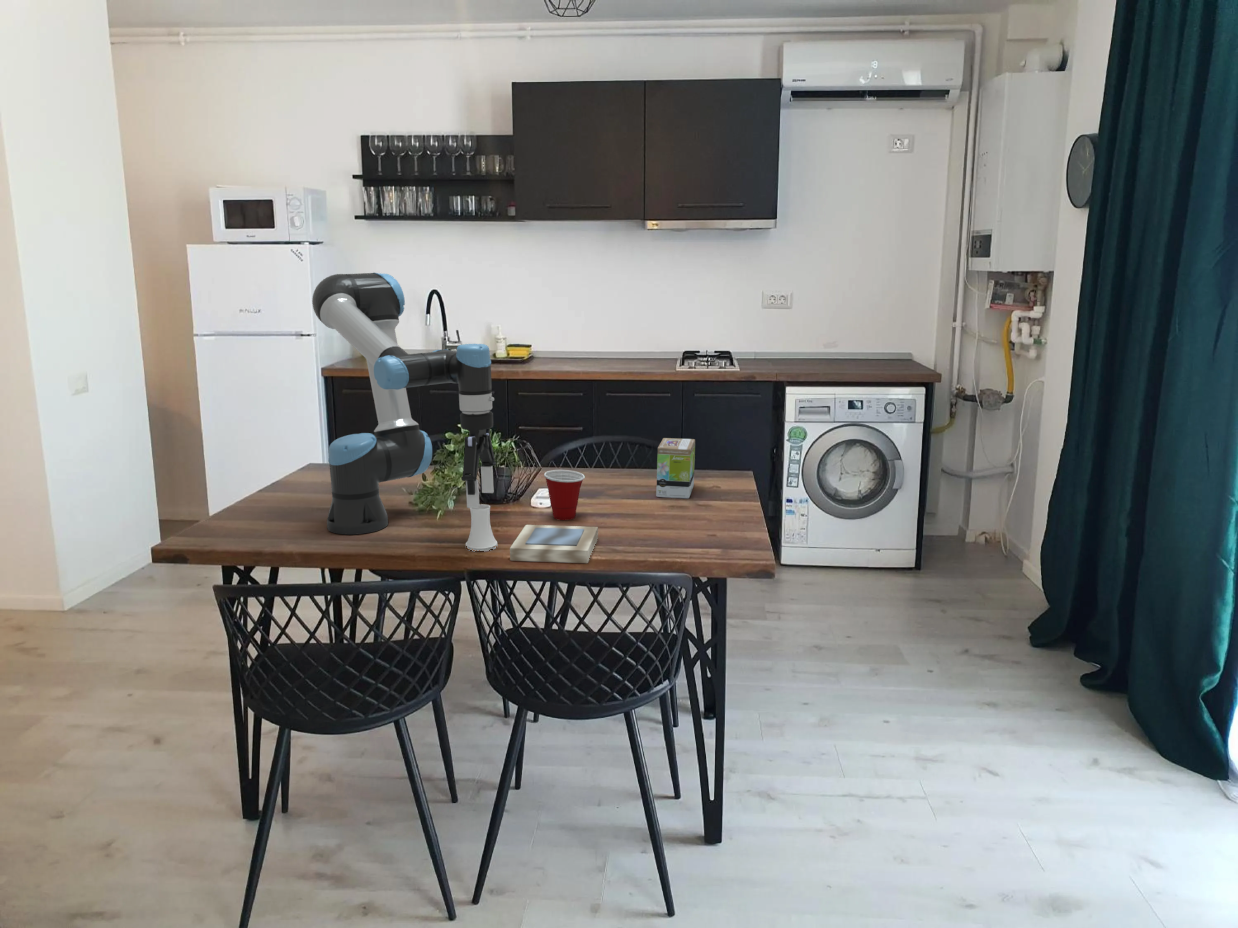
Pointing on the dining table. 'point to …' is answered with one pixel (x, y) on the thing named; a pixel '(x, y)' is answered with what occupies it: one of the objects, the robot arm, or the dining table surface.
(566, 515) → the plastic cup
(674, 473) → the tea box
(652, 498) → the dining table surface
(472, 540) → the white flared tube
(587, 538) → the plinth
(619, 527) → the dining table surface
